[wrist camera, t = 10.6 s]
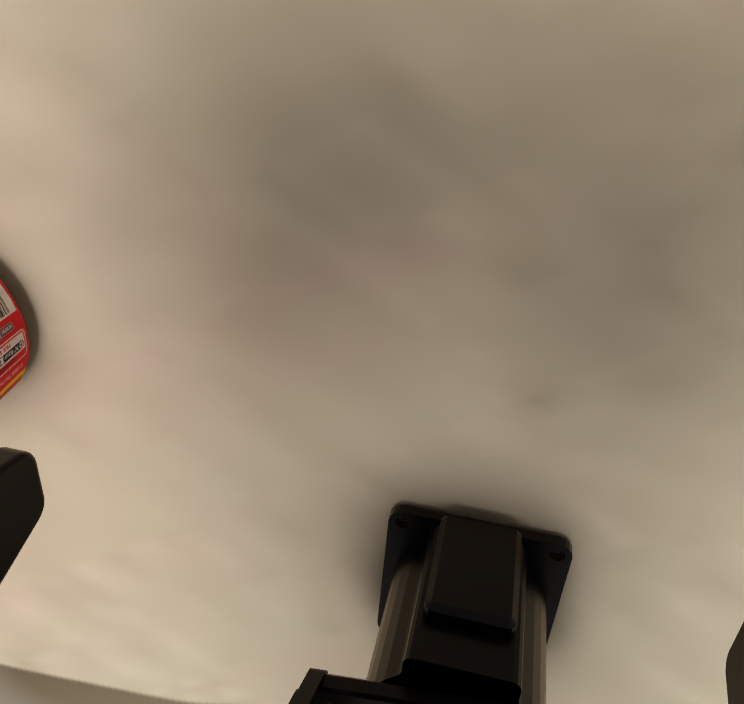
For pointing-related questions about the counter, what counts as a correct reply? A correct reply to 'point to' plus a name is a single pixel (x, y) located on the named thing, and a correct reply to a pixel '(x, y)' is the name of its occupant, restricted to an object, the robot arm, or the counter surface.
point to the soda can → (11, 342)
